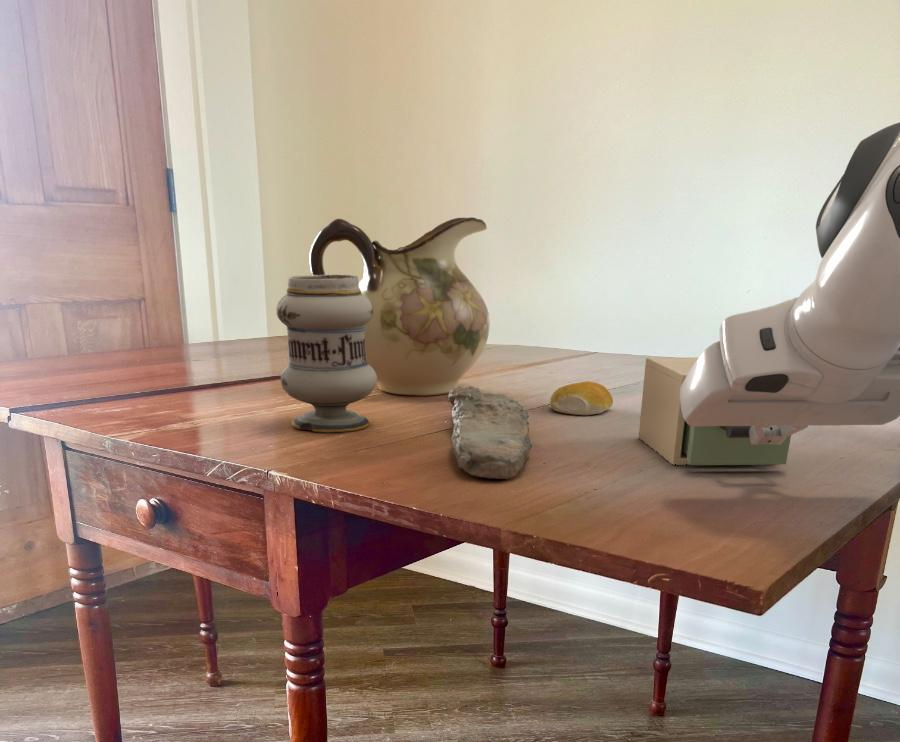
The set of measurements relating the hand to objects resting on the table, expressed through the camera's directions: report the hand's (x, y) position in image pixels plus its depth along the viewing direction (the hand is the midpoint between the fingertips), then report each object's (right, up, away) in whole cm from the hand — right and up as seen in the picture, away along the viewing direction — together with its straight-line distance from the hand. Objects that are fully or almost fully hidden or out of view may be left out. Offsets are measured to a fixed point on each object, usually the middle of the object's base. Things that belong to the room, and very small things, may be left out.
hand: (763, 438), depth 85 cm
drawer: (-1, 0, +10) cm, 10 cm away
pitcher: (-36, +17, +52) cm, 66 cm away
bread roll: (-12, +11, +38) cm, 41 cm away
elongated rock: (-26, +3, +18) cm, 32 cm away
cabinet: (-1, +2, +16) cm, 16 cm away
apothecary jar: (-46, +7, +27) cm, 54 cm away
